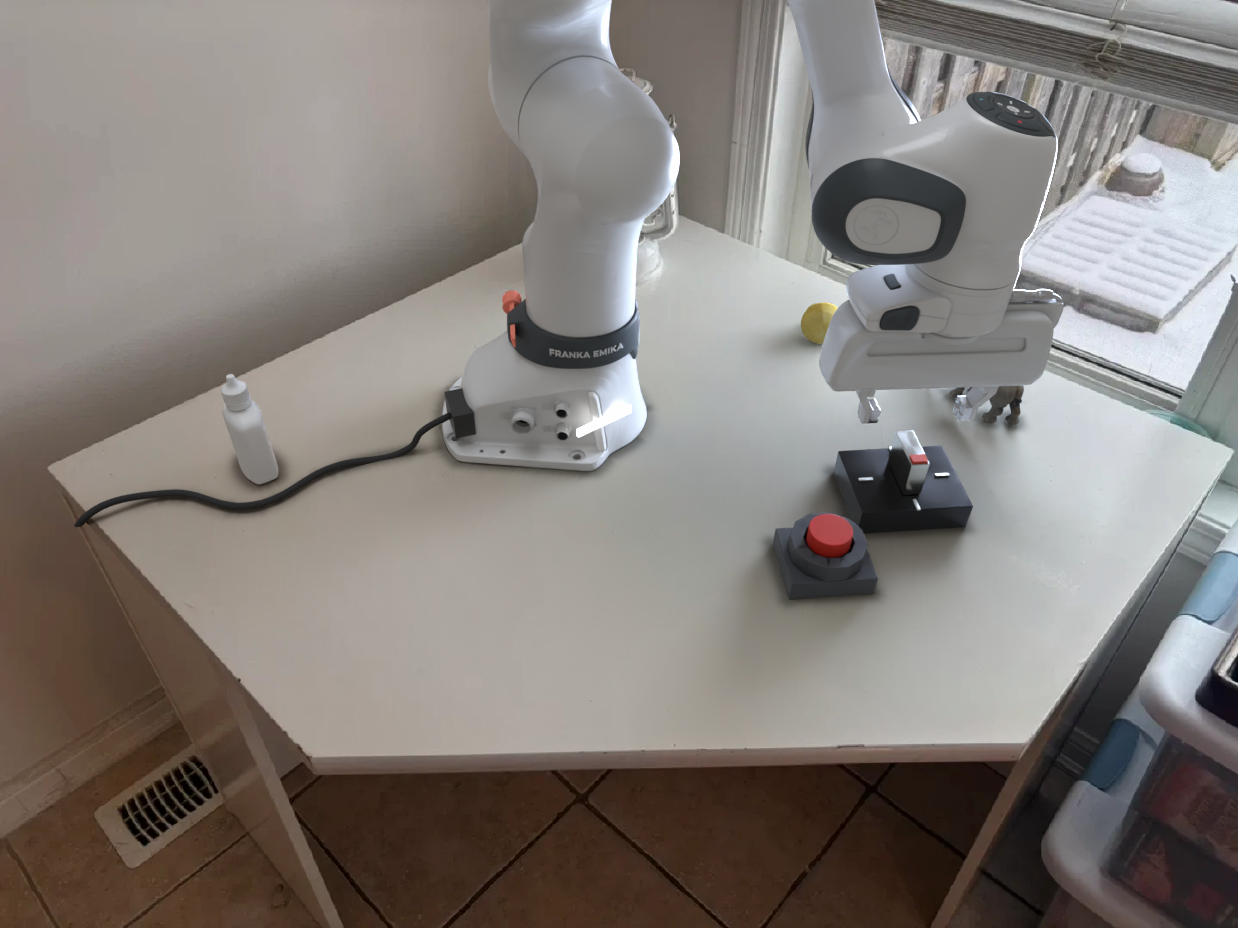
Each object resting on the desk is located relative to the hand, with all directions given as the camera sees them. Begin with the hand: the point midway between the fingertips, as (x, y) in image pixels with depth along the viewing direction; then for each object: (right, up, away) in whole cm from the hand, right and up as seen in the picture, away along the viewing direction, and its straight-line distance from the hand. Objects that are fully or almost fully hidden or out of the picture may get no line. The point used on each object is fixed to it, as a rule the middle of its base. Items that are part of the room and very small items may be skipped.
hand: (914, 417), depth 92 cm
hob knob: (0, -6, +5) cm, 7 cm away
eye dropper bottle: (-65, -5, +9) cm, 66 cm away
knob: (-3, +11, +28) cm, 31 cm away
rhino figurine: (+12, +3, +20) cm, 23 cm away
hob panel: (0, -8, +7) cm, 11 cm away
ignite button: (-9, -12, -3) cm, 15 cm away
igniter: (-9, -14, 0) cm, 17 cm away
